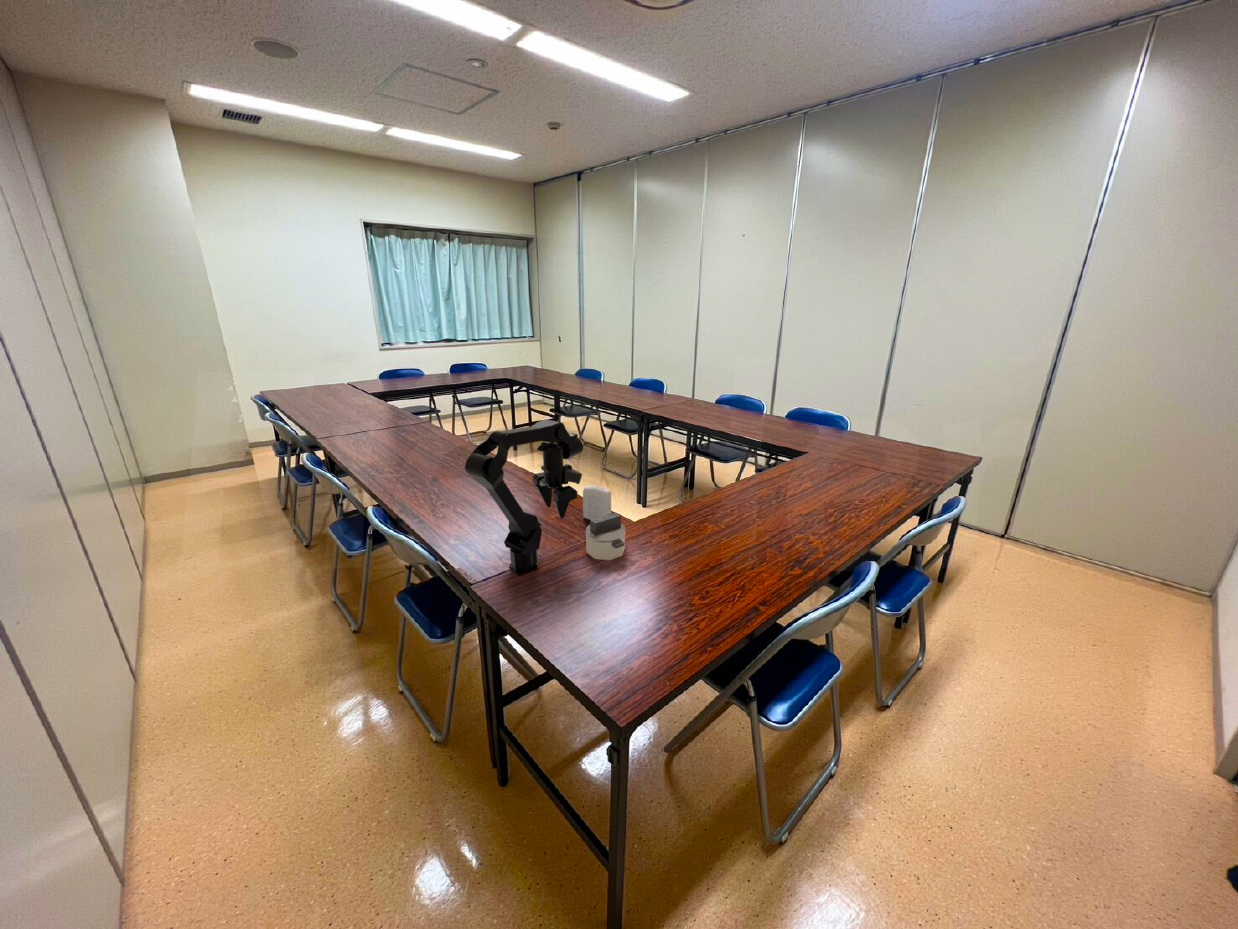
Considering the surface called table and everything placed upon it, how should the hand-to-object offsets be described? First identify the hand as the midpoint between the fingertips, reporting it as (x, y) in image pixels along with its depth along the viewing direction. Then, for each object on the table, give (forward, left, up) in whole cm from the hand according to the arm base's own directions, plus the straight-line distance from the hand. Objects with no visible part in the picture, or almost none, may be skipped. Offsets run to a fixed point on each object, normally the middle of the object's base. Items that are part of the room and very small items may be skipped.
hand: (555, 512), depth 142 cm
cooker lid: (+11, -10, -6) cm, 16 cm away
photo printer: (+21, +9, -12) cm, 26 cm away
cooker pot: (+11, -10, -12) cm, 19 cm away
